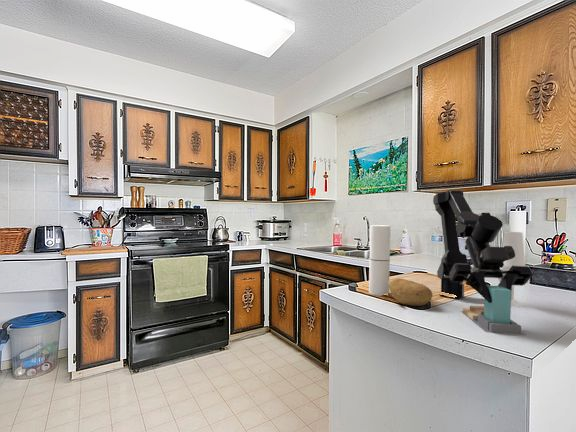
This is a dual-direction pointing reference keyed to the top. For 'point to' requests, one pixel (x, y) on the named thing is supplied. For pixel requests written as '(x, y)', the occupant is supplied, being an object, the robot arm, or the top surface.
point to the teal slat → (498, 305)
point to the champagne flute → (519, 260)
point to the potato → (410, 292)
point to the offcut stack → (473, 311)
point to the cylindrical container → (379, 260)
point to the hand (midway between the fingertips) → (500, 302)
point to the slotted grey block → (497, 326)
